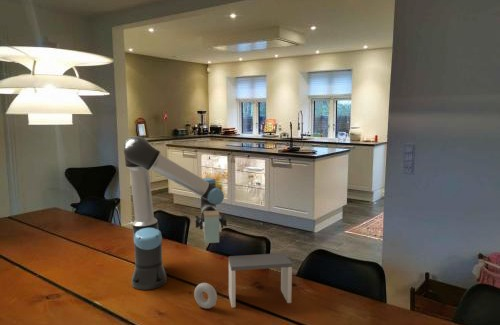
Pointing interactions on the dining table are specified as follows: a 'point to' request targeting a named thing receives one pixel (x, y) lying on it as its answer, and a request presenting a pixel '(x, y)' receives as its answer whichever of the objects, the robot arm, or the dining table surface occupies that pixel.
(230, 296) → the stand
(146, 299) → the dining table surface
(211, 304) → the donut
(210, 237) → the pale teal block
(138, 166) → the robot arm
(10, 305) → the dining table surface
